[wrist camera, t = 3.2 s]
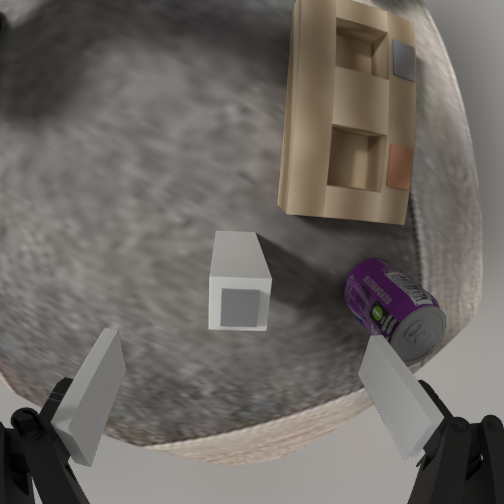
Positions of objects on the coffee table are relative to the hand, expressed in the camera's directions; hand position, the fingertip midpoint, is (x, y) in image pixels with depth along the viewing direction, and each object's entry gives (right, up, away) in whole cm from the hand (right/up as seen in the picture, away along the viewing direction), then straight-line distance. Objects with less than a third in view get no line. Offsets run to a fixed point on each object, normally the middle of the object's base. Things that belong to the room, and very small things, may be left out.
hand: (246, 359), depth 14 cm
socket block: (+10, +20, +13) cm, 26 cm away
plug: (-2, +6, +17) cm, 18 cm away
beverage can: (+14, +2, +20) cm, 24 cm away
